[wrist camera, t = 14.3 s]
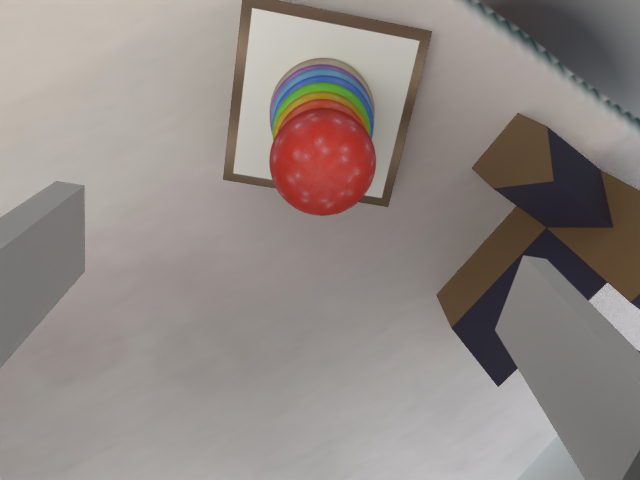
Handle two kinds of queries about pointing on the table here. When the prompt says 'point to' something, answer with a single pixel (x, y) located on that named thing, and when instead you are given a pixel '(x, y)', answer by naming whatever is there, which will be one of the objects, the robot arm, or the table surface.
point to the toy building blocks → (543, 234)
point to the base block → (320, 42)
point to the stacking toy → (322, 136)
